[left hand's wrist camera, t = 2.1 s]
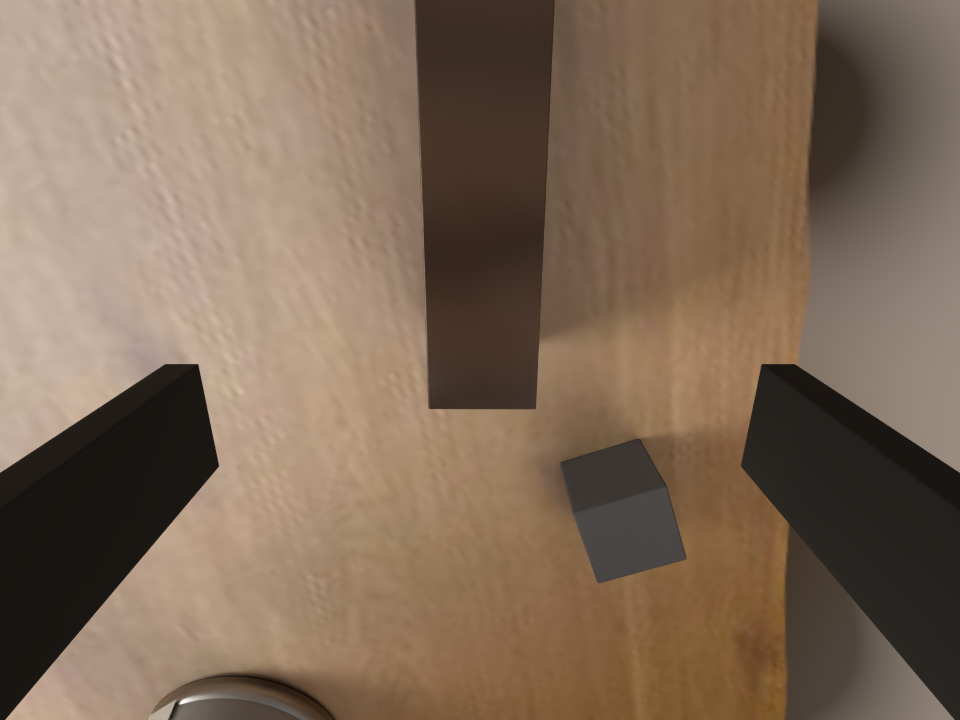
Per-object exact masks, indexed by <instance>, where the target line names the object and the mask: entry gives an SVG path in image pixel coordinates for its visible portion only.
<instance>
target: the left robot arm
mask: <svg viewBox="0 0 960 720" xmlns="http://www.w3.org/2000/svg"><path fill="white" fill-rule="evenodd" d="M218 467H219V463H218V459H217V454H216V449H215V444H214V439H213V434H212V429H211V424H210V420H209V415H208V410H207V405H206V400H205V395H204V390H203V385H202V380H201V376H200V371H199V366H198V364H165V365H163V366H162V367H160V368H159V369H157V370H156V371H154V372H153V373H151V374H150V375H148V376H147V377H145V378H144V379H142V380H141V381H139V382H138V383H136V384H135V385H133V386H131V387H130V388H128V389H127V390H125V391H124V392H122V393H121V394H119V395H118V396H116V397H115V398H113V399H112V400H110V401H109V402H107V403H106V404H104V405H103V406H101V407H100V408H98V409H97V410H95V411H94V412H92V413H90V414H89V415H87V416H86V417H84V418H83V419H81V420H80V421H78V422H77V423H75V424H74V425H72V426H71V427H69V428H68V429H66V430H65V431H63V432H62V433H60V434H59V435H57V436H56V437H54V438H52V439H51V440H49V441H48V442H46V443H45V444H43V445H42V446H40V447H39V448H37V449H36V450H34V451H33V452H31V453H30V454H28V455H27V456H25V457H24V458H22V459H21V460H19V461H18V462H16V463H14V464H13V465H11V466H10V467H8V468H7V469H5V470H4V471H2V472H1V473H0V720H5V719H6V718H7V717H8V716H9V715H10V713H11V712H12V711H13V710H14V709H15V707H16V706H17V705H18V704H19V703H20V702H21V700H22V699H23V698H24V697H25V696H26V694H27V693H28V692H29V691H30V690H31V689H32V687H33V686H34V685H35V684H36V683H37V681H38V680H39V679H40V678H41V677H42V676H43V674H44V673H45V672H46V671H47V670H48V668H49V667H50V666H51V665H52V664H53V662H54V661H55V660H56V659H57V658H58V657H59V655H60V654H61V653H62V652H63V651H64V649H65V648H66V647H67V646H68V645H69V644H70V642H71V641H72V640H73V639H74V638H75V636H76V635H77V634H78V633H79V632H80V630H81V629H82V628H83V627H84V626H85V625H86V623H87V622H88V621H89V620H90V619H91V617H92V616H93V615H94V614H95V613H96V612H97V610H98V609H99V608H100V607H101V606H102V604H103V603H104V602H105V601H106V600H107V598H108V597H109V596H110V595H111V594H112V593H113V591H114V590H115V589H116V588H117V587H118V585H119V584H120V583H121V582H122V581H123V580H124V578H125V577H126V576H127V575H128V574H129V572H130V571H131V570H132V569H133V568H134V567H135V565H136V564H137V563H138V562H139V561H140V559H141V558H142V557H143V556H144V555H145V553H146V552H147V551H148V550H149V549H150V548H151V546H152V545H153V544H154V543H155V542H156V540H157V539H158V538H159V537H160V536H161V535H162V533H163V532H164V531H165V530H166V529H167V527H168V526H169V525H170V524H171V523H172V521H173V520H174V519H175V518H176V517H177V516H178V514H179V513H180V512H181V511H182V510H183V508H184V507H185V506H186V505H187V504H188V503H189V501H190V500H191V499H192V498H193V497H194V495H195V494H196V493H197V492H198V491H199V489H200V488H201V487H202V486H203V485H204V484H205V482H206V481H207V480H208V479H209V478H210V476H211V475H212V474H213V473H214V472H215V471H216V469H217V468H218ZM741 467H742V468H743V469H744V471H745V472H746V473H747V474H748V475H749V476H750V478H751V479H752V480H753V481H754V482H755V484H756V485H757V486H758V487H759V488H760V489H761V491H762V492H763V493H764V494H765V495H766V497H767V498H768V499H769V500H770V501H771V503H772V504H773V505H774V506H775V507H776V508H777V510H778V511H779V512H780V513H781V514H782V516H783V517H784V518H785V519H786V520H787V521H788V523H789V524H790V525H791V526H792V527H793V529H794V530H795V531H796V532H797V533H798V535H799V536H800V537H801V538H802V539H803V540H804V542H805V543H806V544H807V545H808V546H809V548H810V549H811V550H812V551H813V552H814V553H815V555H816V556H817V557H818V558H819V559H820V561H821V562H822V563H823V564H824V565H825V567H826V568H827V569H828V570H829V571H830V572H831V574H832V575H833V576H834V577H835V578H836V579H837V581H838V582H839V583H840V584H841V585H842V587H843V588H844V589H845V590H846V591H847V593H848V594H849V595H850V596H851V597H852V598H853V600H854V601H855V602H856V603H857V604H858V606H859V607H860V608H861V609H862V610H863V612H864V613H865V614H866V615H867V616H868V617H869V619H870V620H871V621H872V622H873V623H874V625H875V626H876V627H877V628H878V629H879V630H880V632H881V633H882V634H883V635H884V636H885V638H886V639H887V640H888V641H889V642H890V644H891V645H892V646H893V647H894V648H895V649H896V651H897V652H898V653H899V654H900V655H901V657H902V658H903V659H904V660H905V661H906V662H907V664H908V665H909V666H910V667H911V668H912V670H913V671H914V672H915V673H916V674H917V675H918V677H919V678H920V679H921V680H922V681H923V683H924V684H925V685H926V686H927V687H928V689H929V690H930V691H931V692H932V693H933V694H934V696H935V697H936V698H937V699H938V700H939V702H940V703H941V704H942V705H943V706H944V707H945V709H946V710H947V711H948V712H949V713H950V715H951V716H952V717H953V718H954V719H955V720H960V473H959V472H958V471H956V470H955V469H953V468H952V467H950V466H949V465H947V464H946V463H944V462H942V461H941V460H939V459H938V458H936V457H935V456H933V455H932V454H930V453H929V452H927V451H926V450H924V449H923V448H921V447H920V446H918V445H917V444H915V443H914V442H912V441H911V440H909V439H908V438H906V437H904V436H903V435H901V434H900V433H898V432H897V431H895V430H894V429H892V428H891V427H889V426H888V425H886V424H885V423H883V422H882V421H880V420H879V419H877V418H876V417H874V416H873V415H871V414H870V413H868V412H866V411H865V410H863V409H862V408H860V407H859V406H857V405H856V404H854V403H853V402H851V401H850V400H848V399H847V398H845V397H844V396H842V395H841V394H839V393H838V392H836V391H835V390H833V389H832V388H830V387H828V386H827V385H825V384H824V383H822V382H821V381H819V380H818V379H816V378H815V377H813V376H812V375H810V374H809V373H807V372H806V371H804V370H803V369H801V368H800V367H798V366H797V365H795V364H762V366H761V371H760V376H759V380H758V385H757V390H756V395H755V400H754V405H753V410H752V415H751V420H750V424H749V429H748V434H747V439H746V444H745V449H744V454H743V459H742V463H741ZM148 720H333V719H332V717H331V716H330V715H329V714H328V713H327V712H326V711H325V710H324V709H323V708H322V707H320V706H319V705H318V704H317V703H315V702H314V701H312V700H311V699H310V698H308V697H306V696H304V695H303V694H301V693H299V692H297V691H295V690H293V689H290V688H288V687H285V686H283V685H280V684H277V683H273V682H270V681H266V680H261V679H255V678H248V677H216V678H209V679H203V680H199V681H196V682H192V683H189V684H187V685H184V686H182V687H180V688H178V689H176V690H174V691H173V692H171V693H170V694H168V695H167V696H166V697H165V698H163V699H162V700H161V701H160V702H159V703H158V705H157V706H156V707H155V709H154V710H153V712H152V714H151V715H150V716H149V719H148Z"/></svg>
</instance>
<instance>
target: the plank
mask: <svg viewBox="0 0 960 720" xmlns="http://www.w3.org/2000/svg"><path fill="white" fill-rule="evenodd" d="M554 3H555V0H415V28H416V57H417V86H418V115H419V145H420V174H421V203H422V232H423V262H424V291H425V320H426V349H427V379H428V408H429V409H536V394H537V372H538V350H539V329H540V307H541V285H542V263H543V242H544V220H545V198H546V177H547V155H548V133H549V111H550V90H551V68H552V46H553V25H554Z"/></svg>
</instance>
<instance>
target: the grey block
mask: <svg viewBox="0 0 960 720" xmlns="http://www.w3.org/2000/svg"><path fill="white" fill-rule="evenodd" d="M560 466H561V470H562V474H563V477H564V481H565V485H566V489H567V493H568V496H569V500H570V504H571V508H572V512H573V515H574V518H575V521H576V523H577V526H578V529H579V532H580V535H581V537H582V540H583V543H584V546H585V549H586V551H587V554H588V557H589V560H590V563H591V565H592V568H593V571H594V574H595V577H596V579H597V582H598V583H602V582H606V581H609V580H613V579H616V578H620V577H624V576H627V575H631V574H635V573H638V572H642V571H646V570H649V569H653V568H656V567H660V566H664V565H667V564H671V563H675V562H678V561H682V560H685V559H686V554H685V551H684V547H683V543H682V540H681V536H680V533H679V529H678V525H677V522H676V518H675V514H674V511H673V507H672V503H671V500H670V496H669V493H668V489H667V486H666V484H665V482H664V481H663V479H662V477H661V475H660V474H659V472H658V470H657V468H656V467H655V465H654V463H653V461H652V460H651V458H650V456H649V454H648V453H647V451H646V449H645V447H644V446H643V444H642V442H641V440H640V439H636V440H633V441H630V442H627V443H623V444H620V445H617V446H613V447H610V448H607V449H604V450H600V451H597V452H594V453H591V454H587V455H584V456H581V457H577V458H574V459H571V460H568V461H564V462H561V463H560Z"/></svg>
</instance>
